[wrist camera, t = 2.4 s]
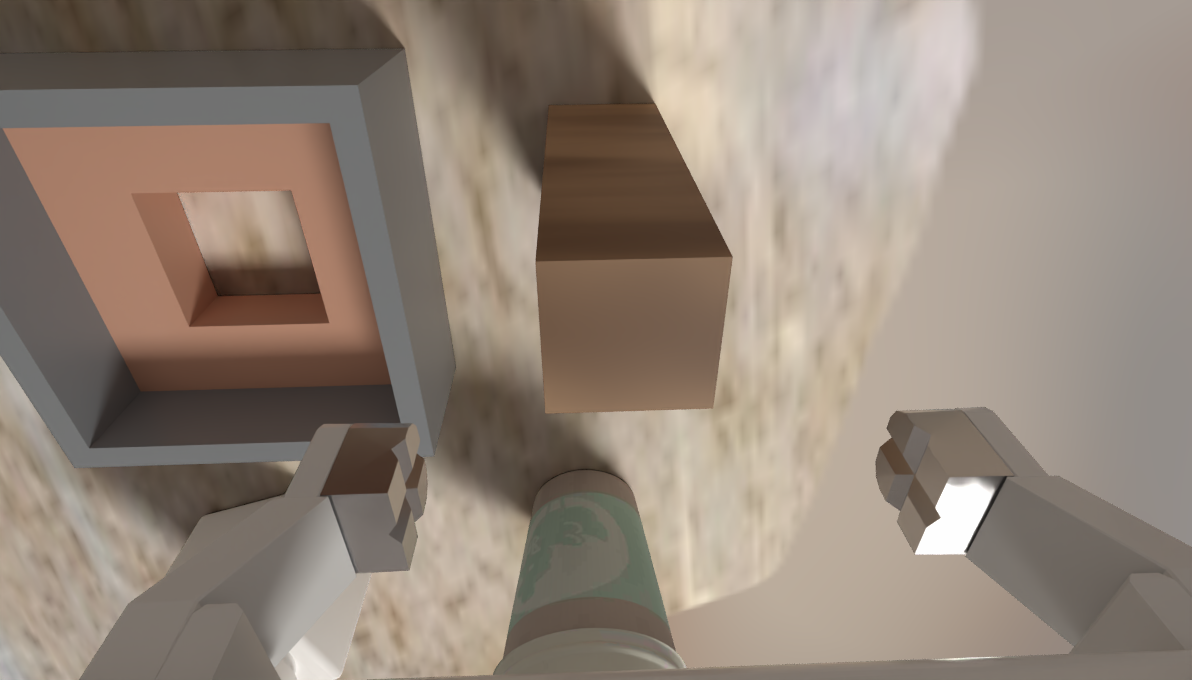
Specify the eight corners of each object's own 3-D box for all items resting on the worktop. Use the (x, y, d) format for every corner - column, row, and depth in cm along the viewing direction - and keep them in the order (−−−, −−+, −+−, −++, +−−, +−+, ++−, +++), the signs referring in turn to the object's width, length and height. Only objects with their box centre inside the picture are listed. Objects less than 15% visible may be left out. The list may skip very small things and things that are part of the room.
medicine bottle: (199, 513, 35) (53, 751, 25) (314, 483, 34) (209, 717, 24) (273, 586, 39) (172, 817, 29) (378, 561, 38) (310, 791, 28)
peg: (650, 204, 26) (713, 408, 15) (553, 206, 26) (545, 413, 15) (655, 103, 23) (733, 256, 13) (548, 105, 23) (535, 261, 13)
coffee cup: (649, 439, 33) (685, 662, 23) (666, 541, 38) (702, 763, 28) (491, 463, 34) (460, 693, 24) (528, 562, 38) (515, 787, 28)
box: (456, 367, 30) (434, 456, 25) (157, 375, 29) (74, 468, 24) (404, 48, 22) (357, 85, 17) (-2, 53, 22) (-173, 92, 17)
